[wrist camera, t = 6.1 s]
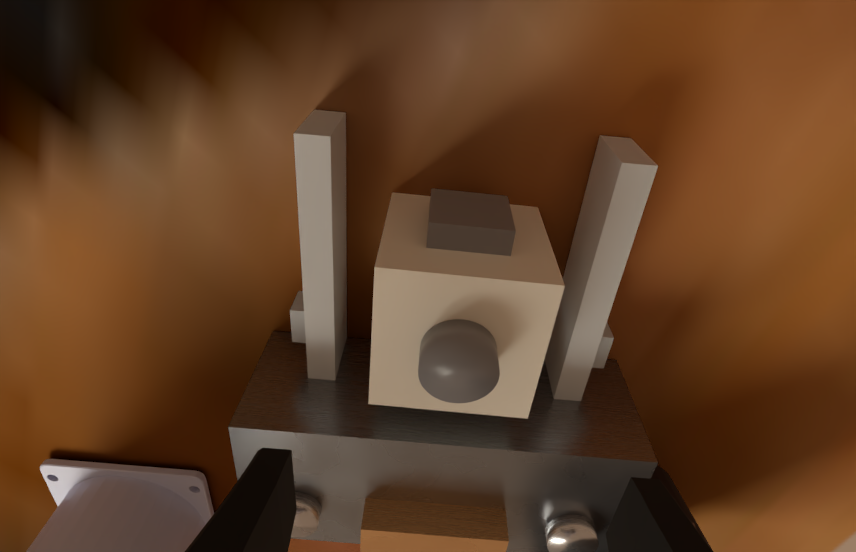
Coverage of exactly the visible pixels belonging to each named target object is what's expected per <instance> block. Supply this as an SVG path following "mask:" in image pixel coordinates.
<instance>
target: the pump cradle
mask: <svg viewBox="0 0 856 552" xmlns="http://www.w3.org/2000/svg"><path fill="white" fill-rule="evenodd" d="M294 149H295V166H296V183H297V200H298V217H299V234H300V251H301V268H302V285H303V291H298V293H297V295H296V297H295V300H294V302H293V304H292V306H291V309H290V320H291V333H292V342H298V343H306V354H307V371H308V378H312V379H324V380H336V376H337V373H338V369H339V365H340V361H341V358H342V354H343V350H344V346H345V343H346V339H347V235H346V112H335V111H324V110H313V111H312V112H311V114H310V115H309V116H308V117H307V118H306V119H305V121H304V122H303V123H302V124H301V125H300V126H299V128H298V129H297V130H296V131H295V132H294ZM657 168H658V165H657V164H656V163H655V162H654V161H653V160H652V159H651V158H650V157H649V156H648V155H647V154H646V153H645V152H644V151H643V150H642V149H641V148H640V147H639V146H638V145H637V144H636V143H635V142H634V141H633V139H632V138H623V137H612V136H601V135H600V136H599V140H598V144H597V148H596V152H595V156H594V160H593V163H592V167H591V171H590V175H589V179H588V183H587V187H586V191H585V194H584V198H583V202H582V206H581V210H580V214H579V218H578V222H577V225H576V229H575V233H574V237H573V241H572V245H571V249H570V253H569V256H568V260H567V264H566V268H565V272H564V276H563V281H564V284H565V288H564V291H563V295H562V298H561V302H560V305H559V309H558V313H557V316H556V320H555V323H554V327H553V330H552V334H551V338H550V341H549V345H548V348H547V352H546V355H545V363H546V368H547V372H548V376H549V381H550V385H551V389H552V394H553V398H554V399H561V400H573V401H581V399H582V396H583V393H584V390H585V387H586V384H587V381H588V378H589V375H590V372H591V369H592V368H604V366H605V363H606V360H607V357H608V354H609V351H610V348H611V346H612V343H613V340H614V337H613V334H612V332H611V330H610V327H609V325H608V323H607V320H608V317H609V314H610V311H611V308H612V305H613V302H614V299H615V296H616V293H617V290H618V287H619V284H620V281H621V278H622V275H623V272H624V269H625V265H626V262H627V259H628V256H629V253H630V250H631V247H632V244H633V241H634V238H635V235H636V232H637V229H638V226H639V223H640V220H641V217H642V214H643V211H644V208H645V205H646V202H647V199H648V196H649V193H650V190H651V186H652V183H653V180H654V177H655V174H656V171H657Z"/></svg>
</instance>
